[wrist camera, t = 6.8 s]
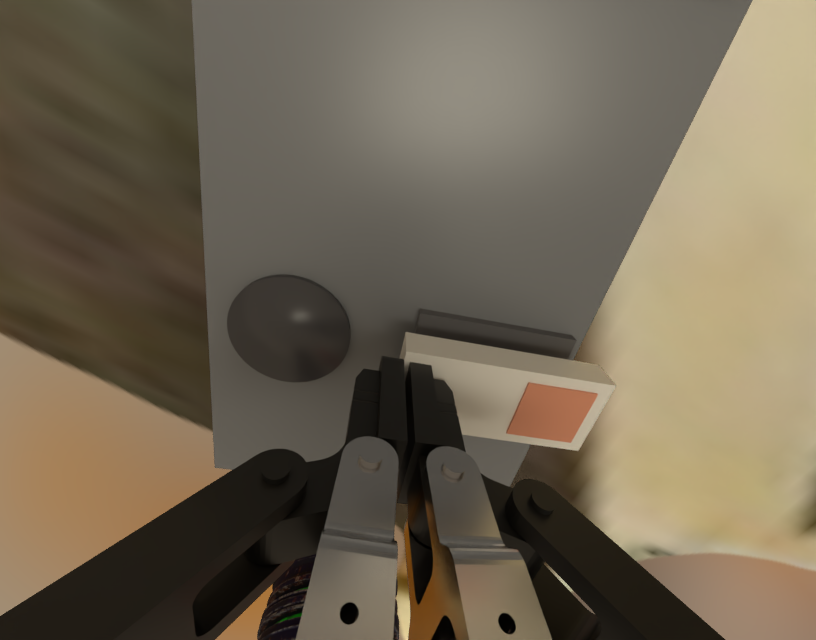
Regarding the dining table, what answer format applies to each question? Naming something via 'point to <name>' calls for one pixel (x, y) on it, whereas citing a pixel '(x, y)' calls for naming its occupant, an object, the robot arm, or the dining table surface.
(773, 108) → the dining table surface
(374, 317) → the switch panel
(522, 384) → the rocker on
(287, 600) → the storage jar
